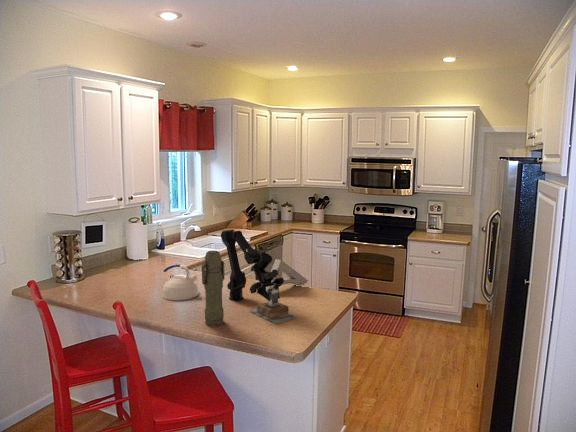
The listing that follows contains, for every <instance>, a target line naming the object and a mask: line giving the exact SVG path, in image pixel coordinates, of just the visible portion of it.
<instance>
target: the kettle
mask: <svg viewBox="0 0 576 432" xmlns="http://www.w3.org/2000/svg"><path fill="white" fill-rule="evenodd" d="M173 268H182V269H184V270H185V272H186V275H185V274H176V275H170V276H169V279H167V280H166V282H165V283H164V285H163V289H162V298H164V299H165V300H168V301H169V300H170V301H186V299H187V300H190V298H191V299H194V298H196V297H197V296H198V295H199V289H198V284H197V282H196V281H197V280H198V276H197V274H192V275H191V274H190V273H191V271H190V270H189V268H188V267H187V266H186V265H184V264H173V265H170V266H167V267H166V268H164V270H163V271H162V272H163V273H165V272H168V271H169V270H170V269H173ZM193 297H194V298H193Z"/></svg>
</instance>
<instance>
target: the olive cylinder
mask: <svg viewBox="0 0 576 432" xmlns="http://www.w3.org/2000/svg"><path fill="white" fill-rule="evenodd" d="M225 277H226V276H225V262H224V260H222V257H221V253H220V251H218V250H208V251H206V252H205V256H204V261H203V263H202V264H201V282H202V286H203V288H204V290H205V298H204V299H205V308H204V319H205V322H204V323H205V325H206V326H209V327H218V326H220V325H223V324H224V316H225V315H224V307H223V287H224V280H225Z"/></svg>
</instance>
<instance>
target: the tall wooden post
mask: <svg viewBox="0 0 576 432" xmlns="http://www.w3.org/2000/svg"><path fill="white" fill-rule="evenodd" d="M267 293H268V295H269V297H270V299H271V300H270V301H268V300H267V299H266V301H267V302H266V303H268V307H269V308H271V309H274V308H277V307H278V302H279V299H278V289H275V288H272V289H268V290H267Z"/></svg>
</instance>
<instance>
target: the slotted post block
mask: <svg viewBox="0 0 576 432" xmlns="http://www.w3.org/2000/svg"><path fill="white" fill-rule="evenodd" d="M289 309H290V308H289V306H288V305H286V304H283V303H280V302H279V301H278V307H277V308H274V309H271V308H269V307H268V303H267V302H266V303H265V302H264V303H261V304H257V307H256V308H254V309H251V310H249V313H250V314H253V315H255V316H257V317H260V318H261V319H264V320H265V321H268V322H270V323H272V324H274V325H279V324H282V323H285V322H289V321H292V320H295V319H297V318H298V316H296V315H294V314H291V313H289Z"/></svg>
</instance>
